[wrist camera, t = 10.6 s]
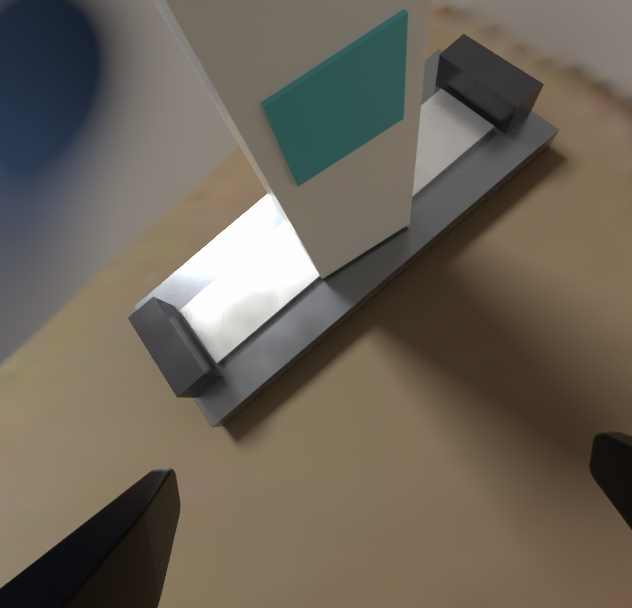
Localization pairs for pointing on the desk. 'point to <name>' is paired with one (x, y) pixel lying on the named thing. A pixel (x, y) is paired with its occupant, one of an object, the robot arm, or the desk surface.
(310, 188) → the block
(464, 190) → the mounting plate
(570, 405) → the desk surface
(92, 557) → the robot arm
